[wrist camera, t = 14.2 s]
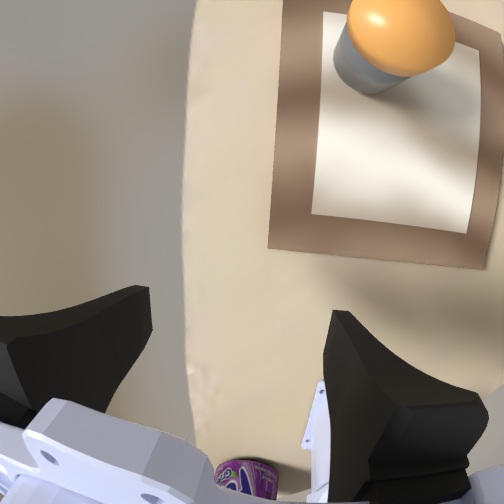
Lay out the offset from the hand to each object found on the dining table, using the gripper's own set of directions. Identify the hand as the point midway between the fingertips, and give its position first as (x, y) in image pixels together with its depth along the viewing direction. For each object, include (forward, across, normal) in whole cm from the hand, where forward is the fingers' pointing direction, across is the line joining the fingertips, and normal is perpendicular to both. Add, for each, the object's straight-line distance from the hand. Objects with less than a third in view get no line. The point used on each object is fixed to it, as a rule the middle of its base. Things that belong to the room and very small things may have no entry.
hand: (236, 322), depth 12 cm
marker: (+9, -5, -12) cm, 16 cm away
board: (+10, -8, -9) cm, 16 cm away
